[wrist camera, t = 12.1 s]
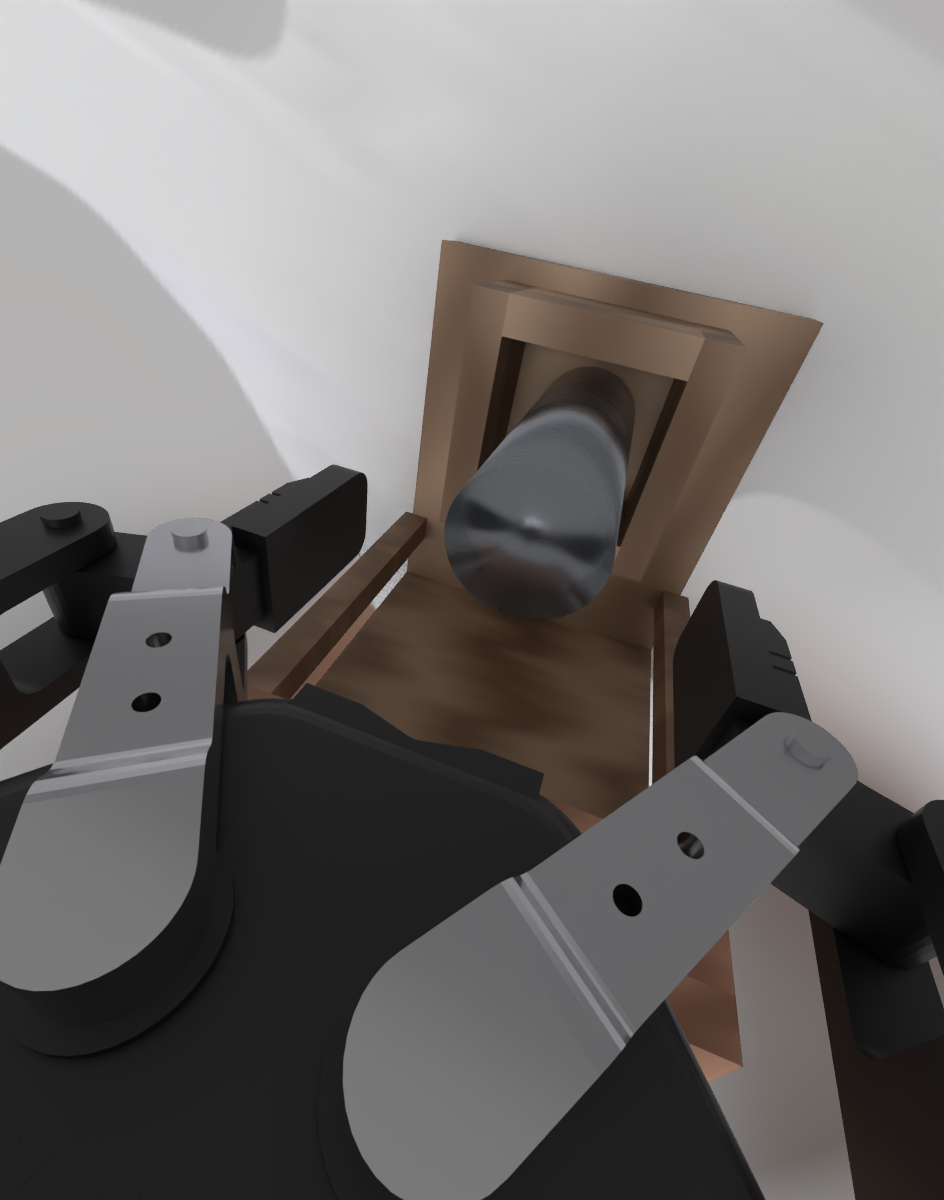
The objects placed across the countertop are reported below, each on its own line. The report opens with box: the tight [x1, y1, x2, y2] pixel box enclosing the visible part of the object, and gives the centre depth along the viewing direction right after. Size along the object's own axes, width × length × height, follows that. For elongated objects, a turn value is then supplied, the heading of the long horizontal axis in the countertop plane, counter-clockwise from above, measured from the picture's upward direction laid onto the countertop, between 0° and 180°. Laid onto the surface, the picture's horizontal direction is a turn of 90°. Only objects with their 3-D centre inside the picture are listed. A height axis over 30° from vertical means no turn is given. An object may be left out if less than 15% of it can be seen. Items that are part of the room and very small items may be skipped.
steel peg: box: [444, 366, 635, 620], centre depth 16 cm, size 4×4×12 cm
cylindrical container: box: [0, 554, 360, 781], centre depth 22 cm, size 7×7×25 cm
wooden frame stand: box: [247, 240, 824, 1082], centre depth 17 cm, size 15×18×19 cm
